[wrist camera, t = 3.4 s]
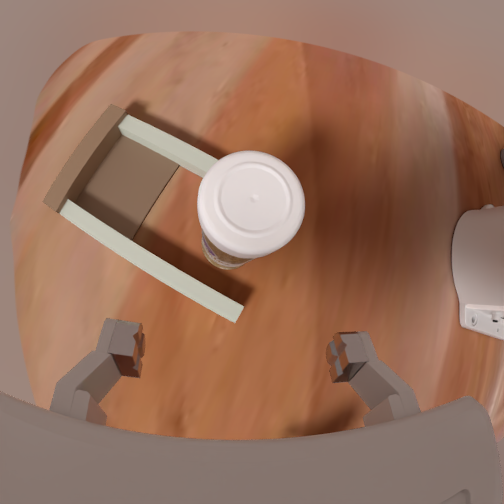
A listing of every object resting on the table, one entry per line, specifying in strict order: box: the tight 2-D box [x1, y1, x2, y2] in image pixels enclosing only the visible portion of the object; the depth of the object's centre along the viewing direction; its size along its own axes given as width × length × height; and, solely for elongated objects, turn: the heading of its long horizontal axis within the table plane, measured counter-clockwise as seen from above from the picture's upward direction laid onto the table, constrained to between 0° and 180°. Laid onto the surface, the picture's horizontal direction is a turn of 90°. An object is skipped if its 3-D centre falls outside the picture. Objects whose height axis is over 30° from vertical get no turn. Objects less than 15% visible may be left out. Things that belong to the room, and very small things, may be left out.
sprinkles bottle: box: [197, 151, 305, 270], centre depth 18 cm, size 5×5×14 cm
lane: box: [43, 104, 244, 323], centre depth 23 cm, size 20×11×2 cm, turn 61°
